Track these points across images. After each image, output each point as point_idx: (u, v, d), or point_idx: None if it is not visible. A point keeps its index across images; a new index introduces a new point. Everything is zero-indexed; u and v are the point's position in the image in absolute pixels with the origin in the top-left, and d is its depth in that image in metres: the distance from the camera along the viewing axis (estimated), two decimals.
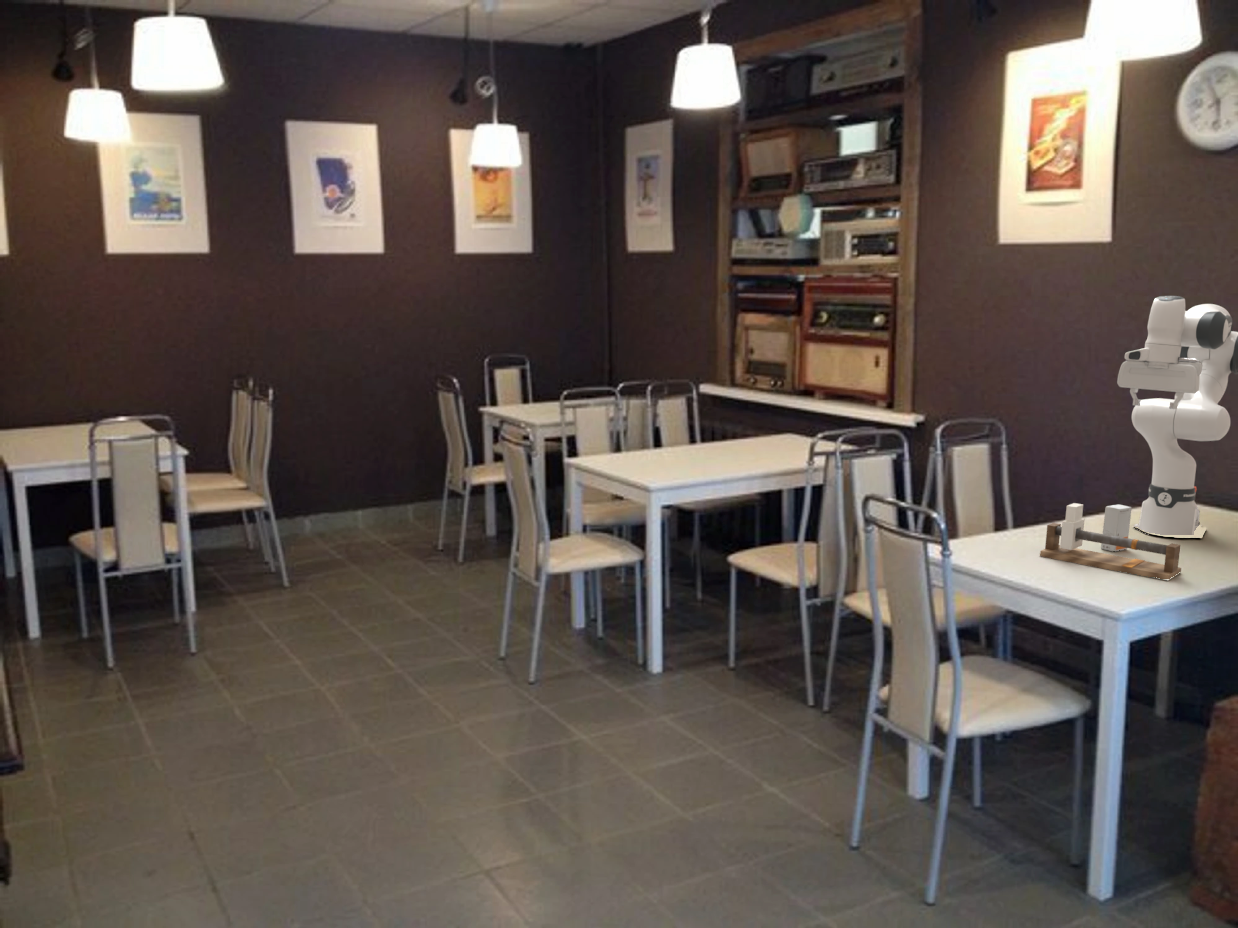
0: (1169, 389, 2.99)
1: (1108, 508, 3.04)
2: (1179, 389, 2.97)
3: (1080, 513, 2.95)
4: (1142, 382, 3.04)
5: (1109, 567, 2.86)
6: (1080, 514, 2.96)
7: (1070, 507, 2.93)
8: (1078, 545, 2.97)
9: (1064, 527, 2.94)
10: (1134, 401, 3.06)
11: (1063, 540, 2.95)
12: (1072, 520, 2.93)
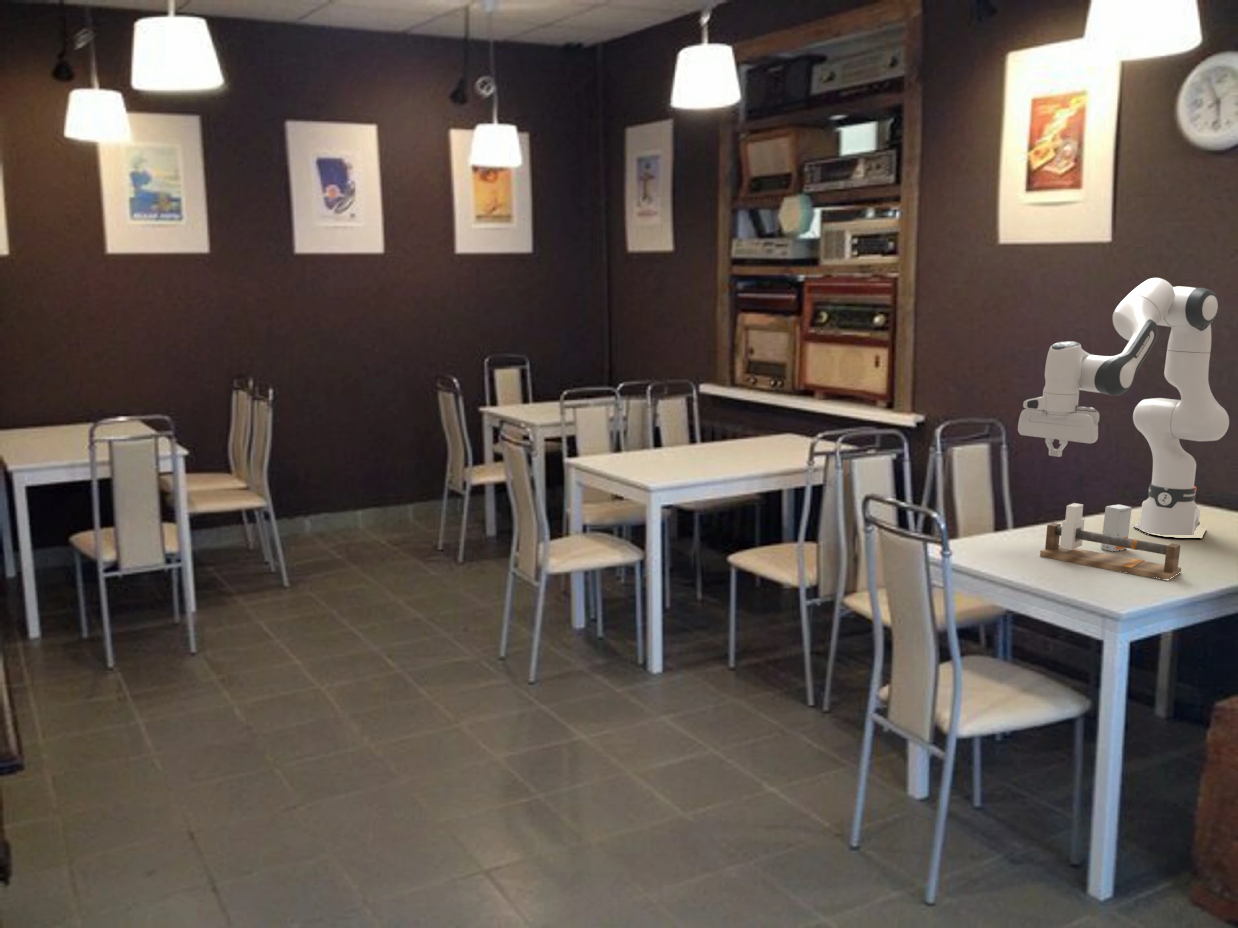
0: (1068, 439, 2.93)
1: (1108, 508, 3.04)
2: (1077, 439, 2.91)
3: (1080, 513, 2.95)
4: (1041, 430, 2.97)
5: (1109, 567, 2.86)
6: (1080, 514, 2.96)
7: (1070, 507, 2.93)
8: (1078, 545, 2.97)
9: (1064, 527, 2.94)
10: (1050, 451, 2.97)
11: (1063, 540, 2.95)
12: (1072, 520, 2.93)
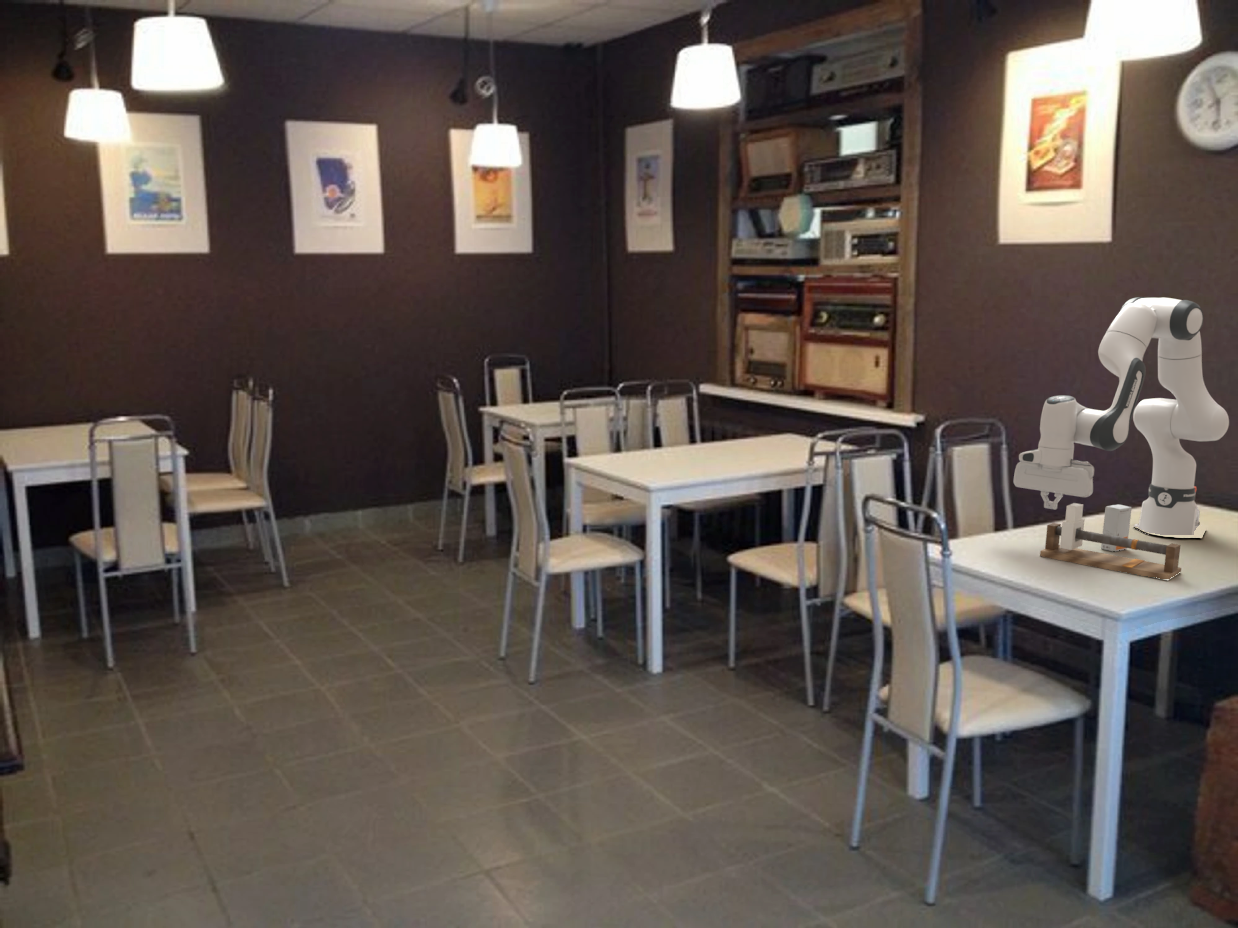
0: (1063, 492, 2.95)
1: (1108, 508, 3.04)
2: (1072, 493, 2.93)
3: (1080, 513, 2.95)
4: (1037, 483, 3.00)
5: (1109, 567, 2.86)
6: (1080, 514, 2.96)
7: (1070, 507, 2.93)
8: (1078, 545, 2.97)
9: (1064, 527, 2.94)
10: (1045, 504, 3.00)
11: (1063, 540, 2.95)
12: (1072, 520, 2.93)
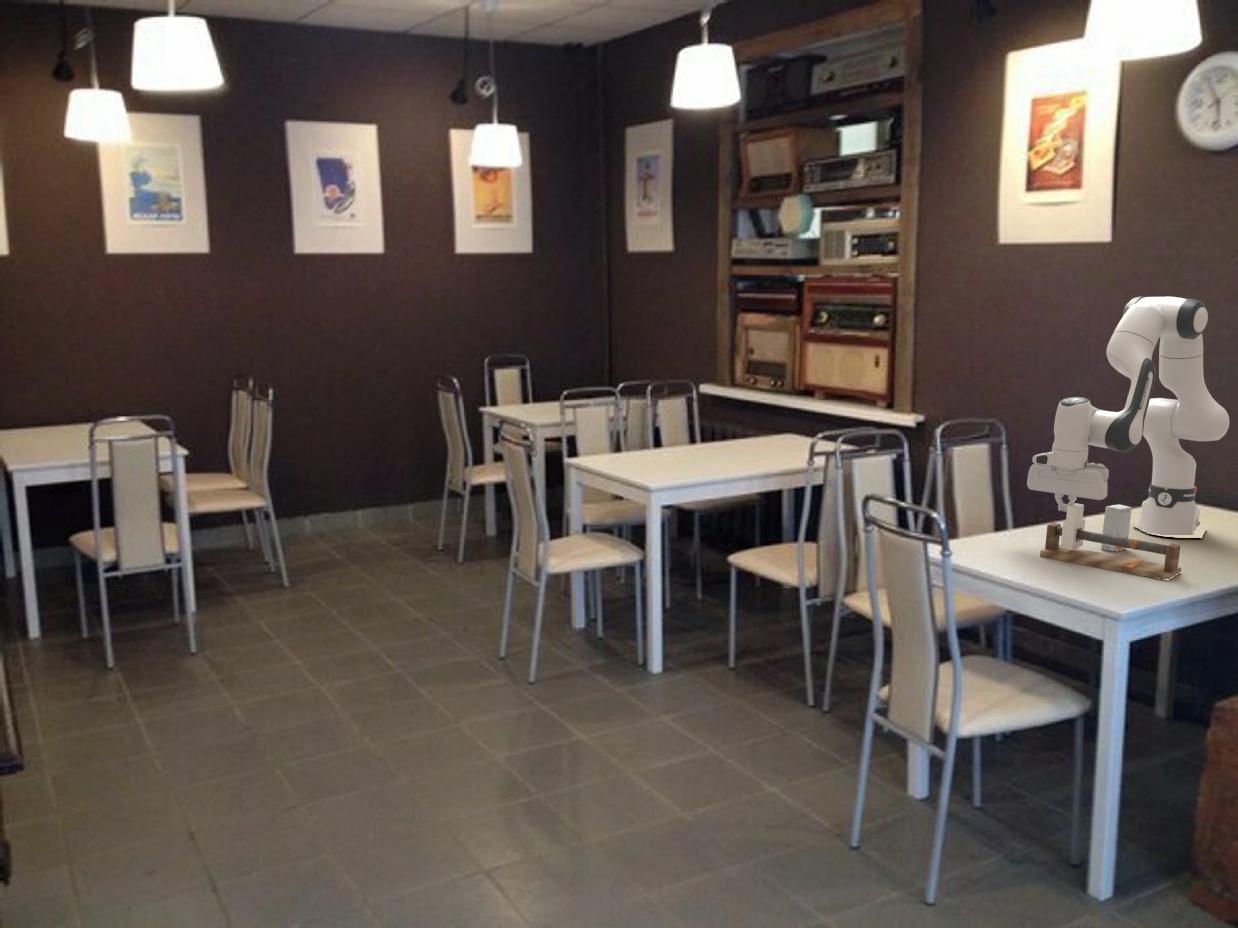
0: (1077, 495, 2.93)
1: (1108, 508, 3.04)
2: (1087, 495, 2.91)
3: (1081, 513, 2.95)
4: (1050, 486, 2.97)
5: (1109, 567, 2.86)
6: (1081, 514, 2.95)
7: (1071, 507, 2.93)
8: (1079, 545, 2.97)
9: (1065, 527, 2.94)
10: (1059, 506, 2.97)
11: (1064, 540, 2.94)
12: (1073, 520, 2.93)
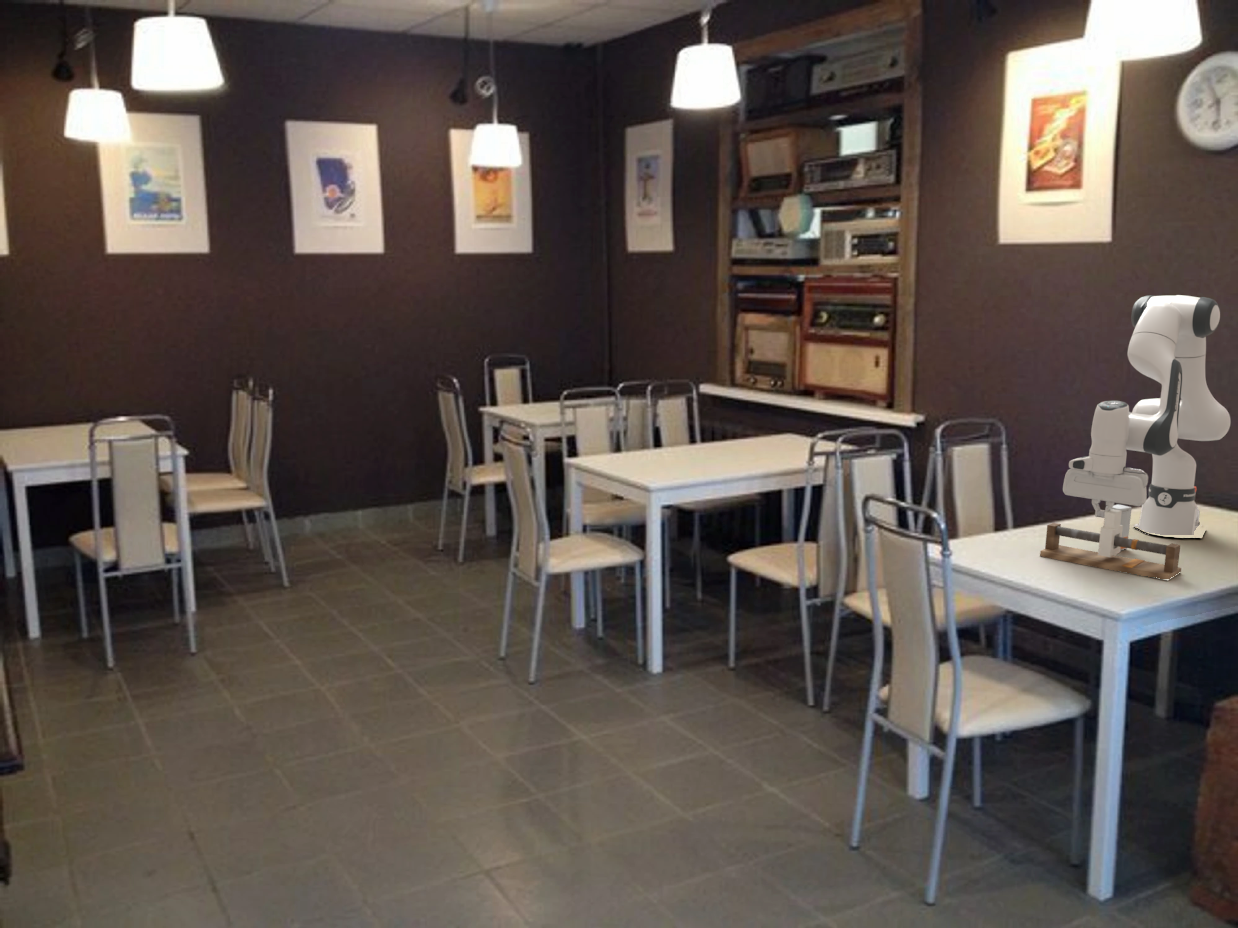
0: (1115, 501, 2.86)
1: None
2: (1125, 501, 2.84)
3: (1118, 519, 2.89)
4: (1087, 491, 2.91)
5: (1109, 567, 2.86)
6: (1118, 520, 2.89)
7: (1109, 513, 2.87)
8: (1116, 552, 2.90)
9: (1102, 534, 2.87)
10: (1096, 513, 2.91)
11: (1102, 547, 2.88)
12: (1111, 527, 2.87)
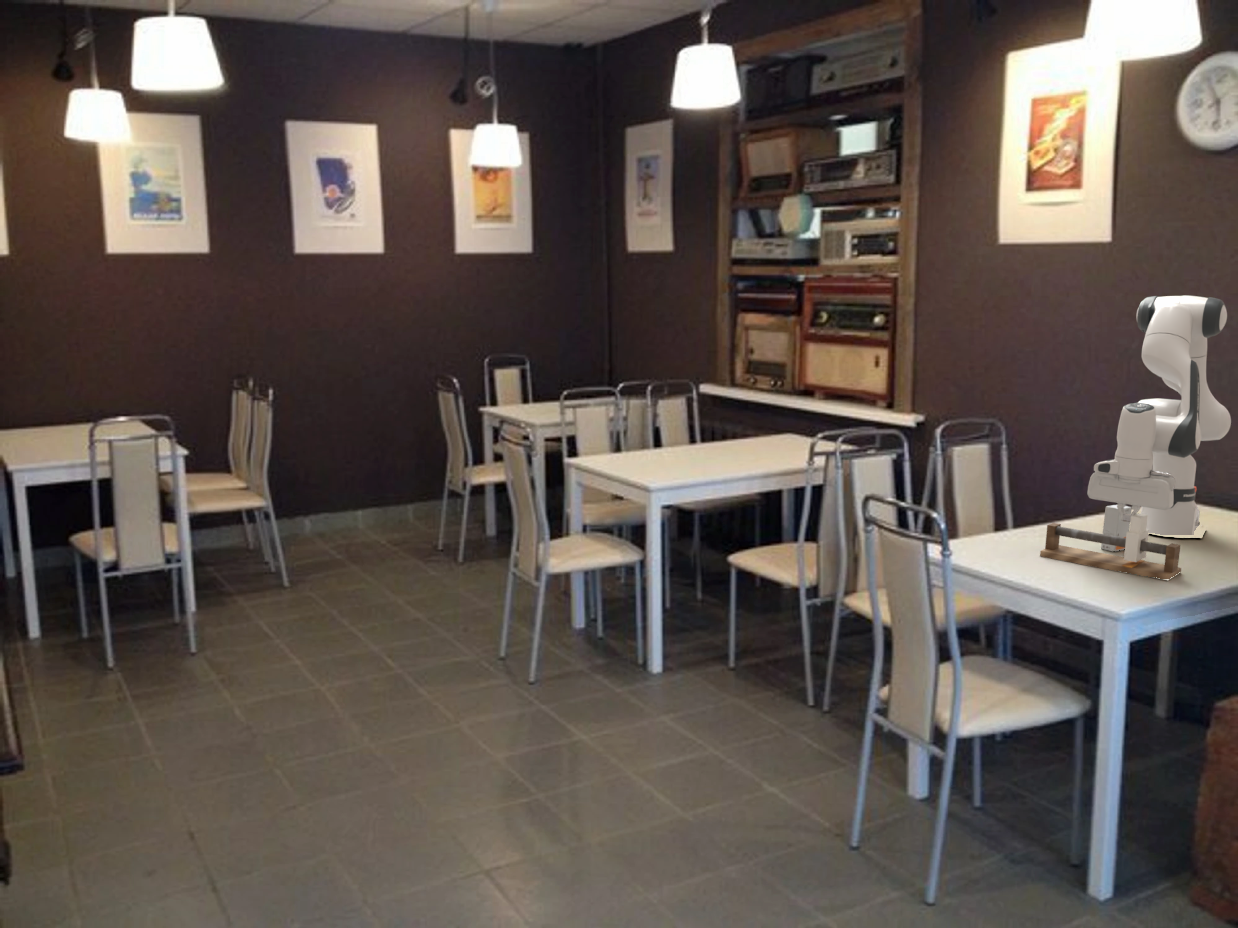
0: (1141, 504, 2.82)
1: (1108, 508, 3.04)
2: (1152, 505, 2.80)
3: (1145, 524, 2.85)
4: (1113, 495, 2.86)
5: (1109, 567, 2.86)
6: (1145, 525, 2.85)
7: (1135, 518, 2.83)
8: (1142, 557, 2.86)
9: (1128, 538, 2.83)
10: (1122, 517, 2.86)
11: (1128, 552, 2.84)
12: (1137, 531, 2.83)
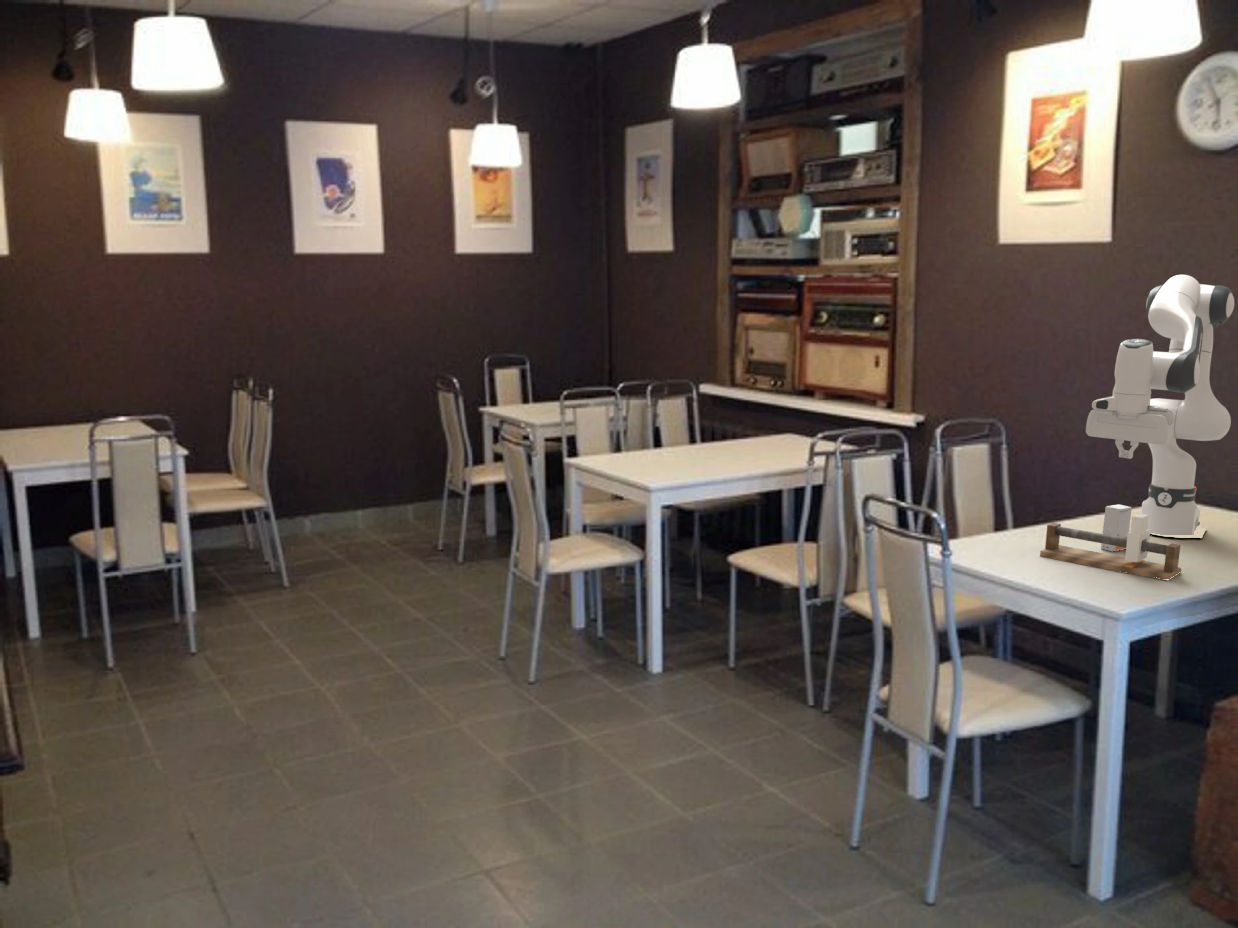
0: (1140, 440, 2.83)
1: (1108, 508, 3.04)
2: (1150, 440, 2.81)
3: (1146, 524, 2.84)
4: (1111, 432, 2.87)
5: (1109, 567, 2.86)
6: (1146, 525, 2.85)
7: (1136, 518, 2.82)
8: (1143, 557, 2.86)
9: (1129, 538, 2.83)
10: (1120, 453, 2.87)
11: (1129, 552, 2.83)
12: (1138, 531, 2.82)
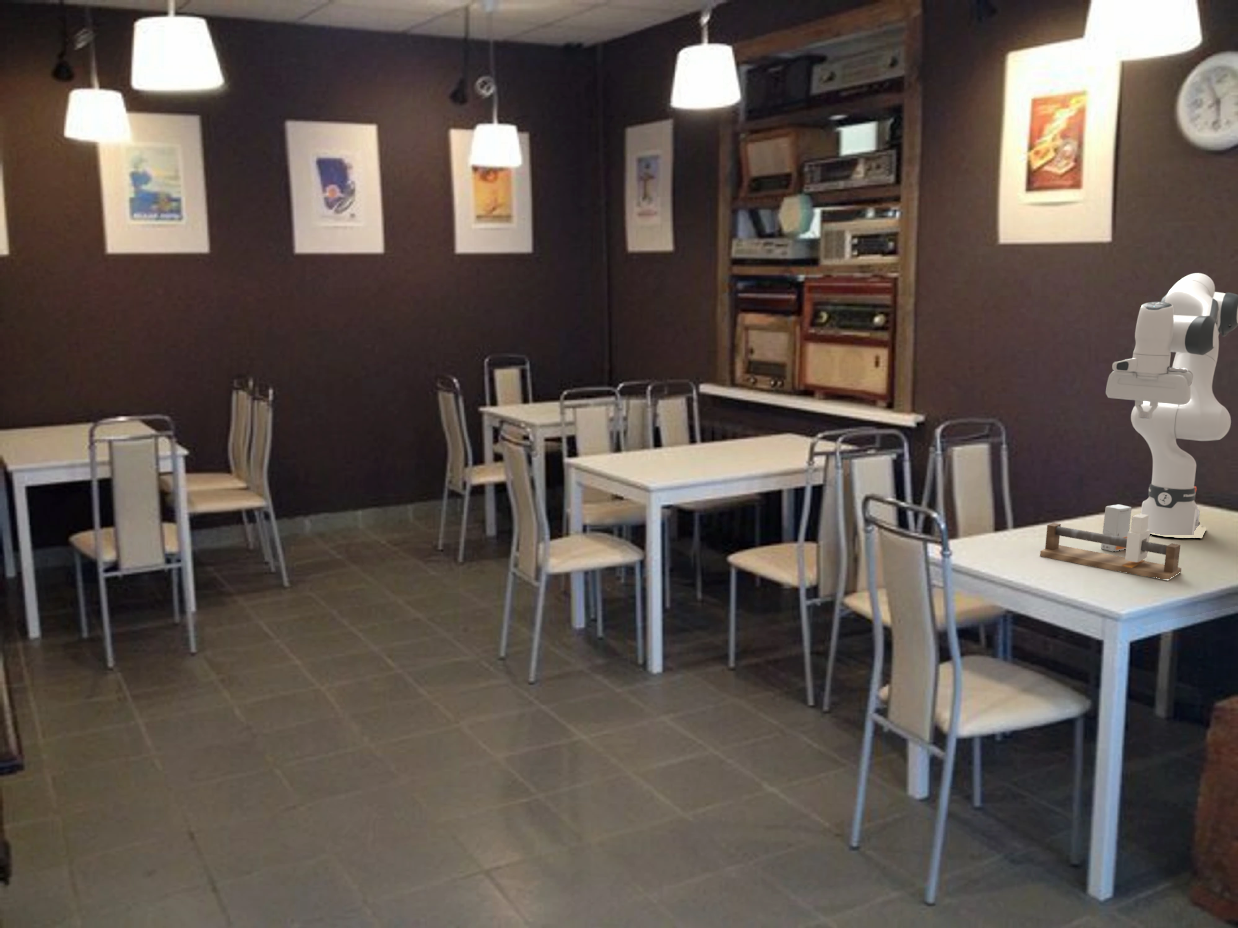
0: (1159, 400, 2.88)
1: (1108, 508, 3.04)
2: (1170, 400, 2.87)
3: (1146, 524, 2.84)
4: (1131, 393, 2.93)
5: (1109, 567, 2.86)
6: (1146, 525, 2.85)
7: (1136, 518, 2.82)
8: (1143, 557, 2.86)
9: (1129, 538, 2.83)
10: (1140, 414, 2.93)
11: (1129, 552, 2.83)
12: (1138, 531, 2.82)
